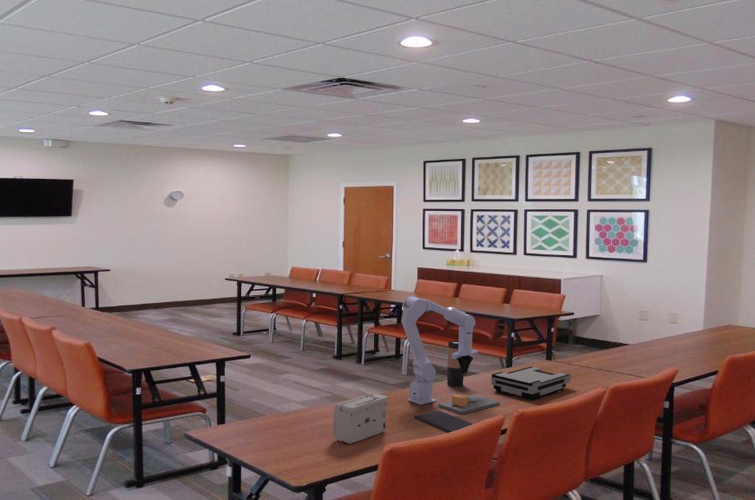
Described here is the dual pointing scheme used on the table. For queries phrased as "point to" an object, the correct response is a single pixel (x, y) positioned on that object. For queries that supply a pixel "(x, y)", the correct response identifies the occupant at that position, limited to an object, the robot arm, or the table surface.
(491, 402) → the fader panel
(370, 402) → the stereo radio cassette player
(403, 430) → the table surface
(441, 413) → the notebook
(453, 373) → the travel mug
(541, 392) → the game console
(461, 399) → the fader knob
